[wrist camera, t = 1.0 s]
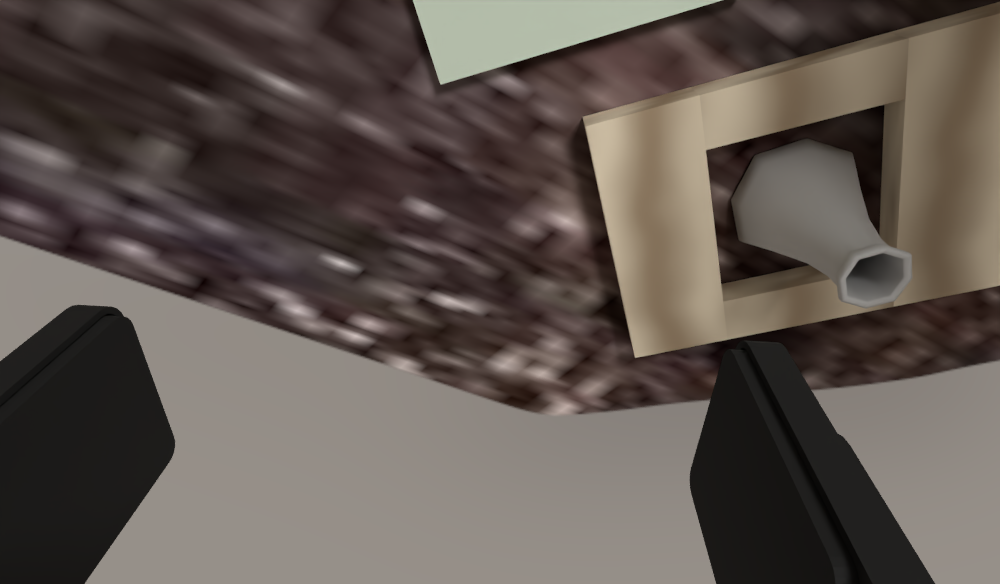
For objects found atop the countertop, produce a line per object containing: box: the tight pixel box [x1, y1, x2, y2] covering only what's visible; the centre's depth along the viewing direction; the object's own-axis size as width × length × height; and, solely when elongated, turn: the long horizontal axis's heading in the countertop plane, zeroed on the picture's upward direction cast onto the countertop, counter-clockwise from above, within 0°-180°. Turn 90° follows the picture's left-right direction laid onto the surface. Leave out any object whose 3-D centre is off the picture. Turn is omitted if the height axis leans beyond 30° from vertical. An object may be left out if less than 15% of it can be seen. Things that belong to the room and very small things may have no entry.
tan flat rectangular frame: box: [583, 2, 1000, 358], centre depth 34 cm, size 22×16×2 cm
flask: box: [731, 138, 912, 309], centre depth 31 cm, size 7×7×10 cm
